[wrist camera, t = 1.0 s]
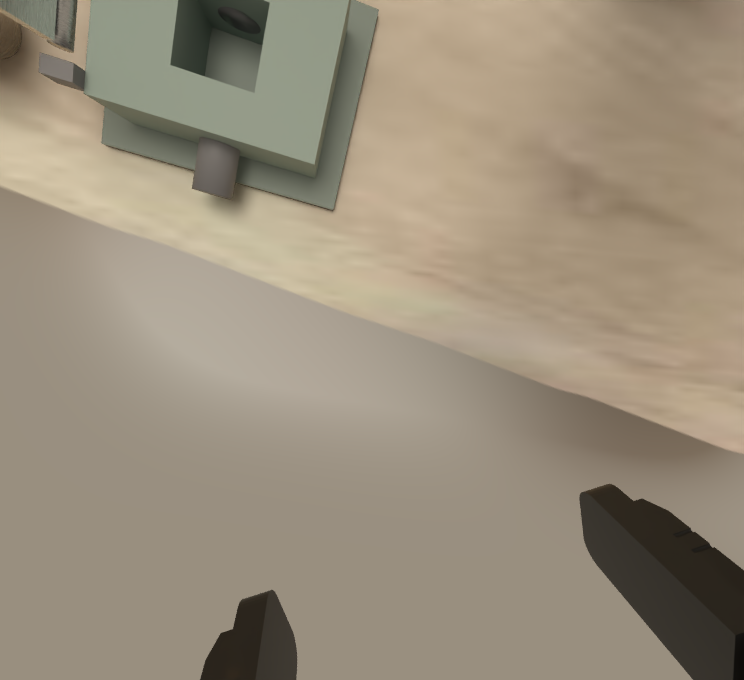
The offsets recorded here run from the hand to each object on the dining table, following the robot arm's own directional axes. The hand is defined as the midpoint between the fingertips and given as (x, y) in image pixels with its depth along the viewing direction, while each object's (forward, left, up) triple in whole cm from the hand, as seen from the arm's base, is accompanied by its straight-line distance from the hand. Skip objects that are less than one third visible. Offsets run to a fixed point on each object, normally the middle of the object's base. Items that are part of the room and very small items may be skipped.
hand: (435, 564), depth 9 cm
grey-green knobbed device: (-17, -13, -27) cm, 35 cm away
